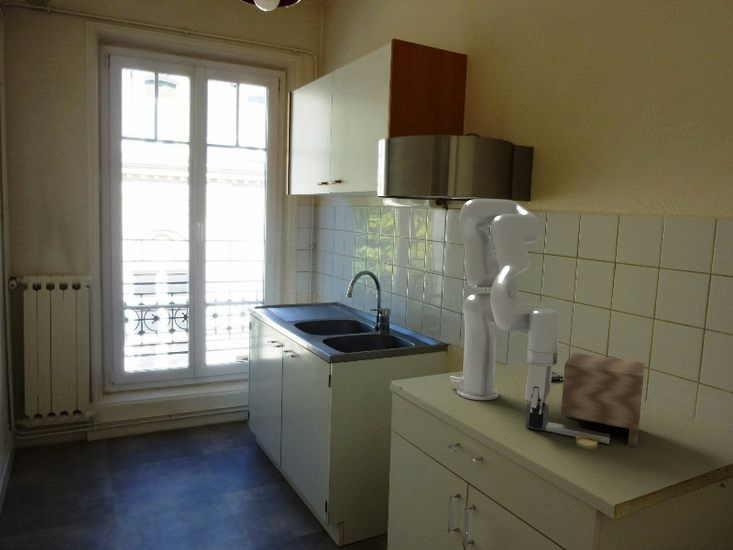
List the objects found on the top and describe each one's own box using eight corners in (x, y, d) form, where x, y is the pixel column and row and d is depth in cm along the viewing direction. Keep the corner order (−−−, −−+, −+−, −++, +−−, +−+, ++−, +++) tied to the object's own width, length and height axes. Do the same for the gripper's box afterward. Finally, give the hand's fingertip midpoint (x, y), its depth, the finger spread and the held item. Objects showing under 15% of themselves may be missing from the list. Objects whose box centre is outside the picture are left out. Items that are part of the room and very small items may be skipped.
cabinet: (559, 431, 140) (564, 364, 138) (567, 414, 152) (572, 352, 150) (636, 447, 132) (643, 376, 130) (638, 428, 144) (644, 362, 142)
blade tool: (525, 427, 141) (527, 404, 141) (528, 422, 144) (529, 400, 144) (608, 444, 132) (610, 420, 131) (609, 439, 135) (611, 416, 134)
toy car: (564, 381, 184) (566, 359, 183) (534, 384, 180) (536, 361, 180) (557, 378, 188) (558, 356, 187) (527, 380, 184) (529, 358, 183)
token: (574, 446, 131) (575, 439, 131) (576, 439, 136) (577, 432, 136) (596, 451, 129) (597, 444, 129) (598, 443, 134) (598, 436, 133)
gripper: (533, 347, 148) (528, 412, 150) (520, 361, 134) (515, 432, 136) (562, 352, 145) (556, 417, 147) (551, 366, 130) (546, 439, 132)
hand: (536, 424), depth 141 cm, fingers closed on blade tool, 3 cm apart
